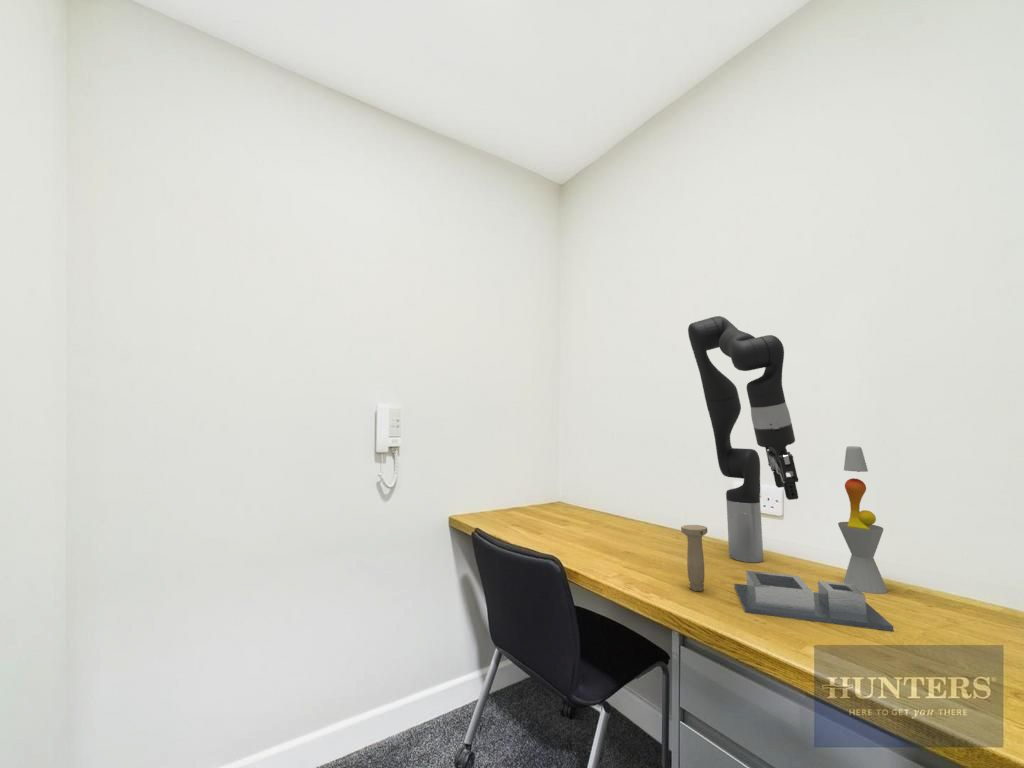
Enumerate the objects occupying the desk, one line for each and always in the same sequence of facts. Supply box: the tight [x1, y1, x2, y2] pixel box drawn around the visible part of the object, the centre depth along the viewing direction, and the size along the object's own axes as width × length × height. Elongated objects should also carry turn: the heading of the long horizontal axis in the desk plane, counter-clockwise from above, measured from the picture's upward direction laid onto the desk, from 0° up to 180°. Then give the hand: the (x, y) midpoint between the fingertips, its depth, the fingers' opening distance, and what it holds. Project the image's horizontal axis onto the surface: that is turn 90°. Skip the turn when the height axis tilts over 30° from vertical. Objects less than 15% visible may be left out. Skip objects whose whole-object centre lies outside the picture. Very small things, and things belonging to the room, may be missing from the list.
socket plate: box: [733, 570, 894, 632], centre depth 95 cm, size 15×26×5 cm, turn 70°
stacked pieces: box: [837, 445, 889, 595], centre depth 109 cm, size 9×9×35 cm
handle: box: [680, 524, 708, 592], centre depth 106 cm, size 5×6×15 cm
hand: (787, 492), depth 97 cm, fingers open, 8 cm apart
